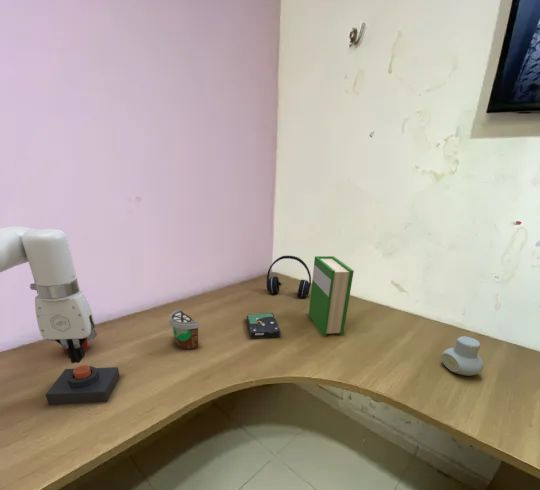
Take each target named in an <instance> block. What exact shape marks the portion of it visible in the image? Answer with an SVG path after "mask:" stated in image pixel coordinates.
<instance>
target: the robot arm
mask: <svg viewBox="0 0 540 490" xmlns="http://www.w3.org/2000/svg"><path fill="white" fill-rule="evenodd" d="M26 263H28V266H29V268H30V271H31V275H32V278H33V281H34V283H30V284H29V288H30V290H32V291H36V294H37V295H36V296H35V297H34V308H35V316H36V321H37V327H38V330H39V334H40V336H41V337H42V338H43V339H45V340H46V341H51V342H56V343H57V344H59V345H60V346H61V345H62V346H63V347H62V346H61V347H62V349H63V348H65V349H66V350H67V353H68V355H67V356H68V358H69V359H70V363H71V364H75V363H76V364H79V363H81V362H82V360H83V359H84V358H85V356H86V353H85V352H86V351H85V352H84V348H83V343H84V342H85V341H86V340H87V341H90V340H94V339H95V338H96V337H97V336H98V333H97V331H96V322H95V318H94V314H93V311H92V308H91V306H90V303H89V300H88V298H87V296H86V295H85V293H84V291H83V290H80V285H79V281H78V277H77V274H76V269H75V264H74V261H73V256H72V252H71V249H70V244H69V240H68V237H67V234H66V233H65V232H64V231H63V230H61V229H57V228H37V229H36V228H32V227H25V226H19V225H8V226H4V227H0V273H3V272H6V271H7V270H9V269H12V268H14V267H18V266H20V265H23V264H26Z"/></svg>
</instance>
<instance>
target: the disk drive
mask: <svg viewBox="0 0 540 490" xmlns="http://www.w3.org/2000/svg"><path fill="white" fill-rule="evenodd" d="M246 323H247V326H248V331H249V336H250V338H251V339H265V338H267V339H268V338H269V339H270V338H280V337H281V328H280V326H279V324H278V322H277V320H276V317H275V315H274V312H259V313H247V315H246Z"/></svg>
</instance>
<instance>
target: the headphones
mask: <svg viewBox="0 0 540 490" xmlns="http://www.w3.org/2000/svg"><path fill="white" fill-rule="evenodd" d="M285 259H290V260H295V261H296V262H299V263H300V264H301V265H302V266H303V267H304V268H305V270H306V272H307V274H308V280H307V279H300V282H299V285H298V290H297V297H299V298H305V297H306V296H307V297H308V296H309V294H310V291H311V286H312V276H311V272H310V270H309V267H308V265H307V264H306V262H305V261H303V259H302V258H300V257H299V256H296V255H282V256H280V257H277V258H276V259H275V260H274V261H273V262H272V263H271V265H270V266H269V268H268V271H267V274H266V290H267V292H269V293H270V294H272V295H273V294H278V293H279V291H280V279H279V277H278V276H276V275H275V276H274V275H272V276H270V272H271V270H272V268H273V267H274V264H276V263H278V262H279V261H281V260H285Z"/></svg>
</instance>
